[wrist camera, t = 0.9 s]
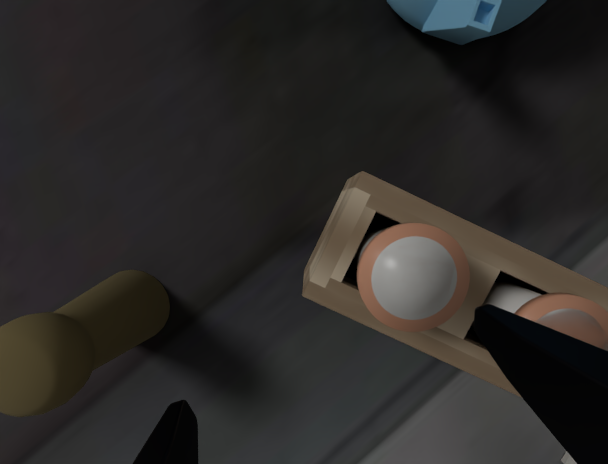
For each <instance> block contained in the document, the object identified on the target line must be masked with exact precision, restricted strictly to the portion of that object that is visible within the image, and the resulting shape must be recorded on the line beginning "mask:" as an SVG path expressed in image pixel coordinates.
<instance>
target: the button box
mask: <svg viewBox="0 0 608 464" xmlns="http://www.w3.org/2000/svg"><path fill="white" fill-rule="evenodd" d="M376 212H377V213H379V214H381V215H383V216H385V217H387V218H389V219H391V220H394V221H396V222H398V223H400V224H402V223H422V224H427V225H431V226H434V227H437V228H439V229H441V230H443V231H445V232H446V233H448V234H449V235H450V236H452V237H453V238H454V239H455V240H456V241H457V242H458V244H459V245H460V246H461V248H462V249H463V251H464V253H465V255H466V258H467V260H468V264H469V270H470V283H469V289H468V292H467V295H466V297H465V300H464V302H463V303H462V305H461V307H460V308H459V309H458V311H457V312H456V313H455V314H454V315H453V316H452V317H451V318H450V319H449V320H447V321H446V322H444V323H443V324H441V325H439V326H437V327H435V328H432V329H429V330H426V331H420V332H405V331H400V330H396V329H393V328H391V327H388V326H386V325H385V324H383V323H381V322H380V321H379V320H377V319H376V318H375V317H374V316H373V315H372V314H371V312H370V311H369V310H368V309H367V307H366V305H365V304H364V302H363V300H362V298H361V295H360V293H359V290H358V285H357V281H355V280H353V279H351V278H349V277H347V276H345V274H346V272H347V270H348V267H349V265H350V263H351V261H352V259H353V257H354V255H355V253H356V251H357V249H358V247H359V245H360V243H361V241H362V239H363V237H364V235H365V233H366V231H367V229H368V227H369V225H370V223H371V221H372V219H373V217H374V215H375V213H376ZM500 271H501V272H503V273H506V274H508V275H510V276H512V277H514V278H516V279H518V280H520V281H522V282H525V283H527V284H529V285H531V286H533V287H535V288H537V289H539V290H541V291H544V292H546V293H555V292H562V293H570V294H574V295H577V296H580V297H583V298H586V299H588V300H591V301H593V302H595V303H597V304H598V305H600V306H601V307H602V308H604V309H605V310H606V311H607V312H608V288H607V287H605V286H603V285H601V284H599V283H597V282H595V281H592V280H590V279H588V278H586V277H584V276H582V275H580V274H578V273H576V272H574V271H571V270H569V269H567V268H565V267H563V266H561V265H559V264H557V263H555V262H553V261H550V260H548V259H546V258H544V257H542V256H540V255H538V254H536V253H534V252H532V251H529V250H527V249H525V248H523V247H521V246H519V245H517V244H515V243H513V242H511V241H508V240H506V239H504V238H502V237H500V236H498V235H496V234H494V233H492V232H490V231H487V230H485V229H483V228H481V227H479V226H477V225H475V224H473V223H471V222H469V221H466V220H464V219H462V218H460V217H458V216H456V215H454V214H452V213H450V212H448V211H446V210H443V209H441V208H439V207H437V206H435V205H433V204H431V203H429V202H427V201H425V200H422V199H420V198H418V197H416V196H414V195H412V194H410V193H408V192H406V191H404V190H401V189H399V188H397V187H395V186H393V185H391V184H389V183H387V182H385V181H383V180H380V179H378V178H376V177H374V176H372V175H370V174H368V173H366V172H364V171H362V172H360V173H358V174H356V175H355V176H353V177H351V178H349V179H348V180H347V182H346V184H345V186H344V188H343V190H342V192H341V194H340V196H339V199H338V201H337V203H336V205H335V207H334V209H333V211H332V213H331V215H330V217H329V219H328V222H327V224H326V226H325V228H324V230H323V232H322V234H321V236H320V238H319V240H318V243H317V245H316V247H315V249H314V251H313V253H312V255H311V257H310V259H309V261H308V263H307V266H306V268H305V270H304V280H303V294H302V296H303V297H306V298H308V299H310V300H312V301H314V302H316V303H319V304H321V305H323V306H325V307H327V308H329V309H332V310H334V311H336V312H338V313H340V314H342V315H344V316H347V317H349V318H351V319H353V320H355V321H357V322H360V323H362V324H364V325H366V326H368V327H370V328H373V329H375V330H377V331H379V332H381V333H383V334H386V335H388V336H390V337H392V338H394V339H396V340H399V341H401V342H403V343H405V344H407V345H409V346H412V347H414V348H416V349H418V350H420V351H422V352H424V353H427V354H429V355H431V356H433V357H435V358H437V359H440V360H442V361H444V362H446V363H448V364H450V365H453V366H455V367H457V368H459V369H461V370H463V371H466V372H468V373H470V374H472V375H474V376H476V377H479V378H481V379H483V380H485V381H487V382H489V383H492V384H494V385H496V386H498V387H500V388H502V389H504V390H507V391H509V392H511V393H513V394H515V395H517V396H520V397H521V395H520V394H519V393H518V392H517V391H516V389H515V388H514V387H513V386H512V384H511V383H510V382H509V381H508V379H507V378H506V377H505V375H504V374H503V372H502V371H501V370H500V368H499V367H498V365H497V364H496V362H495V361H494V359H493V358H492V356H491V355H490V353H489V352H488V350H487V349H486V347H485V346H484V345H483V343H482V342H481V340H480V339H479V338H477V337H475V336H473V335H471V334H469V333H467V332H468V330H469V328H470V326H471V324H472V322H473V321H474V311H475V308H476V307H478V306H481V305H482V304H483V302H484V300H485V299H486V297H487V295H488V293H489V291H490V289H491V287H492V286H493V284H494V282H495V280H496V278H497V276H498V275H499V273H500Z"/></svg>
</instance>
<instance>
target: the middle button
mask: <svg viewBox="0 0 608 464" xmlns="http://www.w3.org/2000/svg"><path fill="white" fill-rule="evenodd" d="M485 304H491V305H494V306H496V307H499V308H501V309H504V310H506V311H509V312H511V313H514V314H516V315H519V316H521V317H524V318H526V319H529V320H531V321H534V322H536V323H539V324H541V325H544V326H546V327H549V328H551V329H554V330H556V331H559V332H561V333H564V334H566V335H569V336H571V337H574V338H576V339H579V340H581V341H584V342H586V343H589V344H591V345H594V346H596V347H599V348H601V349H604V350H606V351H608V312H607V311H606V310H605V309H604V308H602V307H601V306H600V305H598V304H597V303H595V302H593V301H591V300H588V299H586V298H583V297H580V296H577V295H574V294H570V293H562V292H555V293H547V294H544V295H541V294H539V293H536V292H534V291H531V290H529V289H526V288H524V287H521V286H519V285H516V284H514V283H510V282H496V283H494V284H493V286H492V287H491V289H490V291H489V293H488V295H487V297H486V299H485V300H484V302H483V304H482V305H485ZM472 327H473V329H474V321H473V322H472Z"/></svg>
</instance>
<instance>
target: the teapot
mask: <svg viewBox="0 0 608 464" xmlns="http://www.w3.org/2000/svg"><path fill="white" fill-rule="evenodd" d="M386 1H387V3H388V4H389V5H390V6H391V7H392V9H393V10H394V11H395V12H396V13H397V14H398V15H399V16H400V17H401V18H403V19H404V20H405V21H406V22H408V23H409V24H411V25H412V26H414V27H415V28H417V29H419V30H421V31H422V32H423V33H426V34H429V35H432V36H435V37H438V38H441V39H444V40H447V41H450V42H453V43H456V44H459V45H464V44H466V43H469V42H471V41H474V40H476V39H480V38H484V37H488V36H492V35H496V34H498V33H501V32H503V31H506V30H508V29H510V28H512V27H514V26H516V25H518V24H519V23H521V22H522V21H524V20H525V19H526V18H528V17H529V16H531V15H532V14H533V13H534V12H535V11H536V10H537V9H538V8H539V7H540V6H542V5H543V4H544V3H545V2H546V1H547V0H386Z"/></svg>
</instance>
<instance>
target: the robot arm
mask: <svg viewBox="0 0 608 464" xmlns="http://www.w3.org/2000/svg"><path fill="white" fill-rule="evenodd" d="M474 330H475V332H476V334H477V336H478V337H479V339H480V340H481V342H482V343H483V345H484V346H485V347H486V349H487V350H488V352H489V353H490V355H491V356H492V358H493V359H494V361H495V362H496V364H497V365H498V367H499V368H500V370H501V371H502V372H503V374H504V375H505V377H506V378H507V379H508V381H509V382H510V383H511V384H512V386H513V387H514V388H515V389H516V391H517V392H518V393H519V394H520V395H521V397H522V398H523V399H524V400H525V401H526V403H527V404H528V405H529V406H530V407H531V409H532V410H533V411H534V412H535V414H536V415H537V416H538V417H539V418H540V420H541V421H542V422H543V423H544V424H545V426H546V427H547V428H548V429H549V430H550V432H551V433H552V434H553V435H554V436H555V438H556V439H557V440H558V441H559V442H560V444H561V445H562V446H563V447H564V449H565V450H566V451H567V452H568V453H569V455H570V456H571V457H572V458H573V459H574V461H575V462H576V463H577V464H608V351H606V350H604V349H601V348H599V347H596V346H594V345H591V344H589V343H586V342H584V341H581V340H579V339H576V338H574V337H571V336H569V335H566V334H564V333H561V332H559V331H556V330H554V329H551V328H549V327H546V326H544V325H541V324H539V323H536V322H534V321H531V320H529V319H526V318H524V317H521V316H519V315H516V314H514V313H511V312H509V311H506V310H504V309H501V308H499V307H496V306H494V305H491V304H485V305H481V306H478V307H476V308H475V311H474ZM133 464H198V424H197V418H196V416H195V414H194V412H193V411H192V409H191V407H190V406H189V404H188V403H187V401H185V400H181V401H178V402H174V403H172V404H170V405H169V406H168V408H167V410H166V411H165V413H164V414H163V416H162V417H161V419H160V421H159V422H158V424H157V425H156V427H155V429H154V430H153V432H152V433H151V435H150V437H149V438H148V440H147V441H146V443H145V445H144V446H143V448H142V449H141V451H140V453H139V454H138V456H137V457H136V459H135V461H134V462H133Z"/></svg>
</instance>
